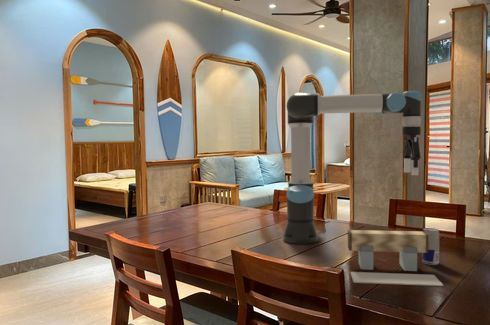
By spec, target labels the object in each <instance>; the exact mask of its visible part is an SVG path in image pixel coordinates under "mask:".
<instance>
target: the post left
mask: <svg viewBox="0 0 490 325" xmlns="http://www.w3.org/2000/svg"><path fill="white" fill-rule="evenodd" d="M357 252H358V262H357V263H358V265H359V268H360V269H361V270H367V271H368V270H369V271H370V270H372V271H373V270H374V255H375V254H374V252H375V251H374V246H363V245H361V251H357Z"/></svg>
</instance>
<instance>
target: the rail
mask: <svg viewBox="0 0 490 325" xmlns="http://www.w3.org/2000/svg"><path fill="white" fill-rule="evenodd" d="M428 237H429V235H428V234H427V233H425V232H423V230H422V231H421V230H420V231H416V230H413V231H412V230H409V231H408V230H365V229H364V230H361V229H347V248H348V250H349V252H353V251H354V252H358V251H361V245H363V246H374V252H390V253H392V252H393V253H400V252H404V247H417V254H418V253H419V254H420V253H428Z"/></svg>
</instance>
